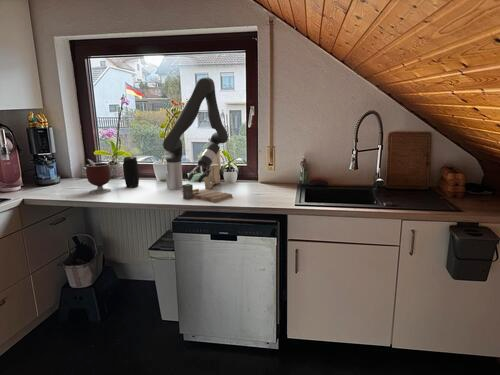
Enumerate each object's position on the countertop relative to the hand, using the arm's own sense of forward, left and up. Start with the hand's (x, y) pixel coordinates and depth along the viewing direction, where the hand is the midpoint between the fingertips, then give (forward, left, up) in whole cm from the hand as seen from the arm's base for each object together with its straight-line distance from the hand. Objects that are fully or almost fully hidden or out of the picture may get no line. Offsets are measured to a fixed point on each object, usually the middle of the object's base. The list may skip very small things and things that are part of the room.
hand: (193, 180), depth 205 cm
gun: (-13, +29, -10) cm, 33 cm away
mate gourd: (-59, -25, -10) cm, 65 cm away
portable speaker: (-55, -4, -10) cm, 56 cm away
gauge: (0, -2, -9) cm, 10 cm away
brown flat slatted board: (+8, +5, -9) cm, 13 cm away
